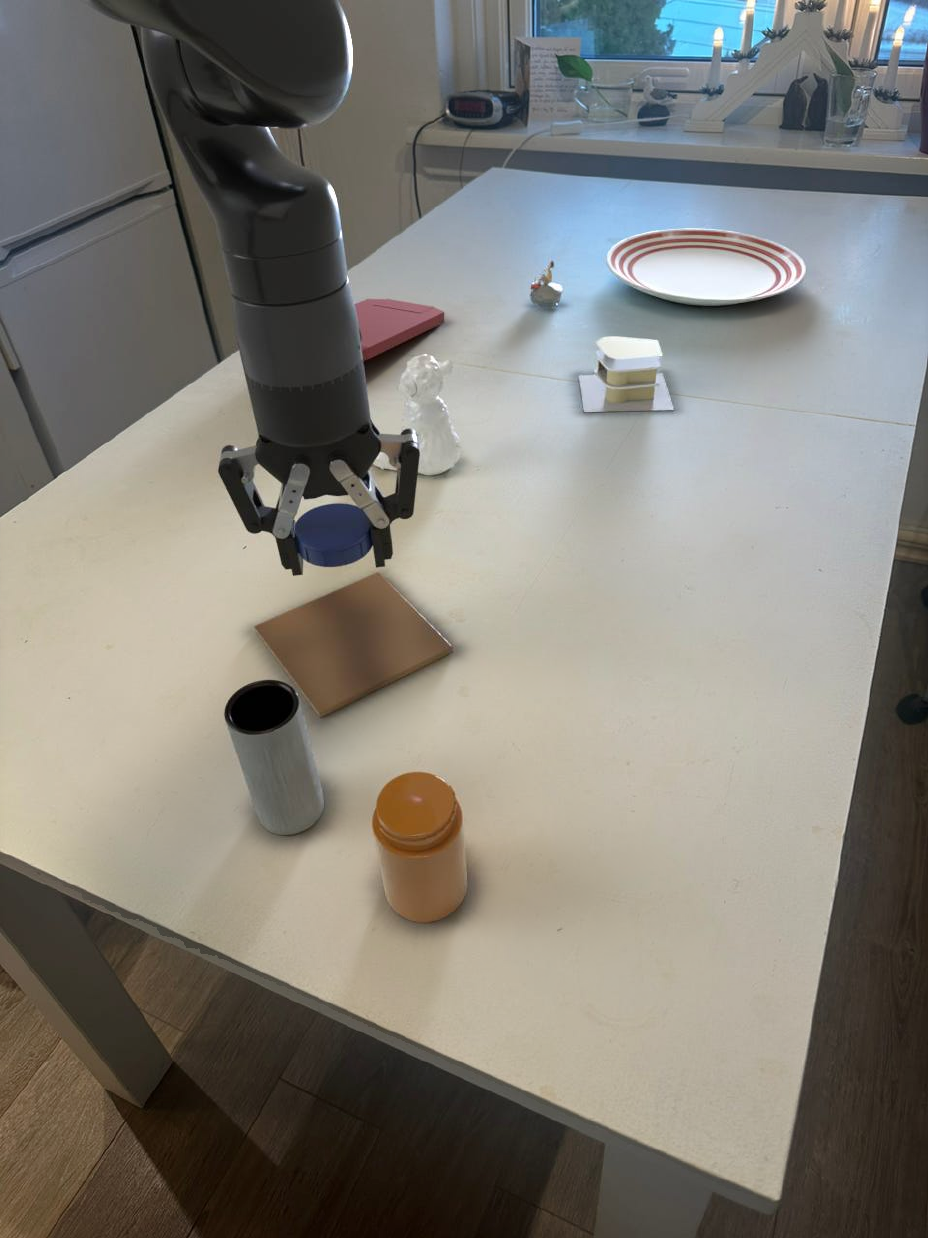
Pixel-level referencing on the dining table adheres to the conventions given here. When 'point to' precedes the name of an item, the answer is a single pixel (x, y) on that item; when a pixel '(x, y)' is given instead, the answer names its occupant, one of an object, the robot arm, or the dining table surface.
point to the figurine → (546, 290)
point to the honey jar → (420, 846)
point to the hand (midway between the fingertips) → (339, 564)
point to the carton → (392, 323)
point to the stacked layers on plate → (626, 377)
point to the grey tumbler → (275, 755)
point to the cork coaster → (351, 642)
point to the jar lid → (333, 535)
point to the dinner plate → (705, 266)
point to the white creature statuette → (427, 416)
